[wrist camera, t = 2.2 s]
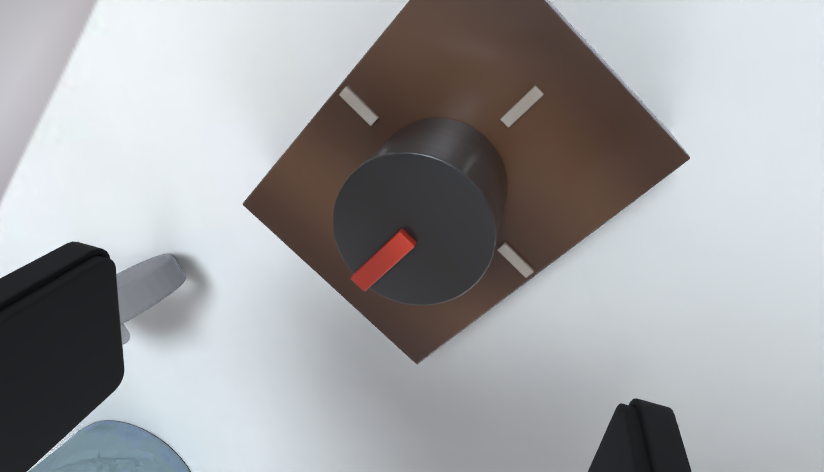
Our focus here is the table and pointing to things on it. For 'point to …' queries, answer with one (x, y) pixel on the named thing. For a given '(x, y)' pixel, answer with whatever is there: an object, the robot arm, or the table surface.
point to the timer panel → (495, 119)
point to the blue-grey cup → (112, 451)
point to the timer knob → (422, 213)
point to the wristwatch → (146, 287)
